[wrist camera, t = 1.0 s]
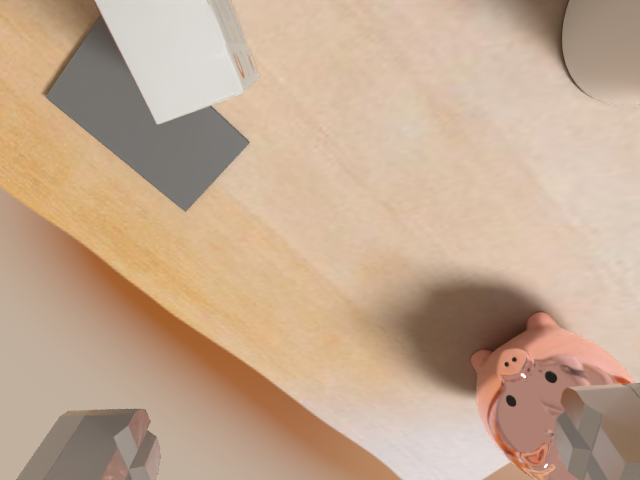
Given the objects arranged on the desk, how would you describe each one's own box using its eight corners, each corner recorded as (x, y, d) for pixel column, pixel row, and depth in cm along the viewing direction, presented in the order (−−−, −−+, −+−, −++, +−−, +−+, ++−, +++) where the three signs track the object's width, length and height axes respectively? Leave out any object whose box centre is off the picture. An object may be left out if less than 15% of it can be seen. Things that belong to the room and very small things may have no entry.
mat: (107, 9, 36) (104, 9, 36) (249, 142, 41) (248, 143, 41) (48, 96, 40) (45, 97, 39) (186, 210, 44) (185, 212, 44)
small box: (154, 10, 36) (85, -11, 24) (224, -18, 35) (188, -54, 24) (197, 104, 39) (155, 127, 27) (261, 80, 39) (247, 92, 27)
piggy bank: (539, 271, 47) (633, 375, 33) (618, 362, 53) (728, 486, 38) (429, 348, 52) (469, 468, 38) (512, 424, 57) (574, 554, 43)
